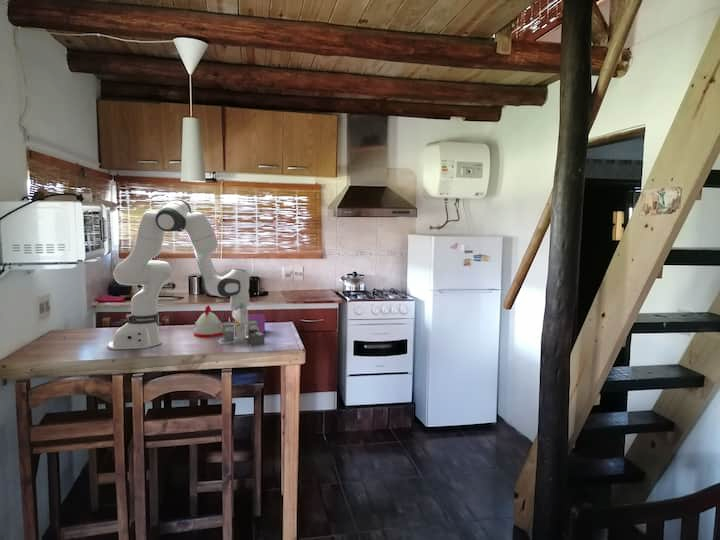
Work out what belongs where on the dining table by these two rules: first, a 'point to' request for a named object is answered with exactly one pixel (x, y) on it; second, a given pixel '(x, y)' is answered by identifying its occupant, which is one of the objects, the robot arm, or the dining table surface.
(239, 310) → the robot arm
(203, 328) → the white and red dome
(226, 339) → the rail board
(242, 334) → the loose module
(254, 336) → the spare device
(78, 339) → the dining table surface
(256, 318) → the mounting bracket
